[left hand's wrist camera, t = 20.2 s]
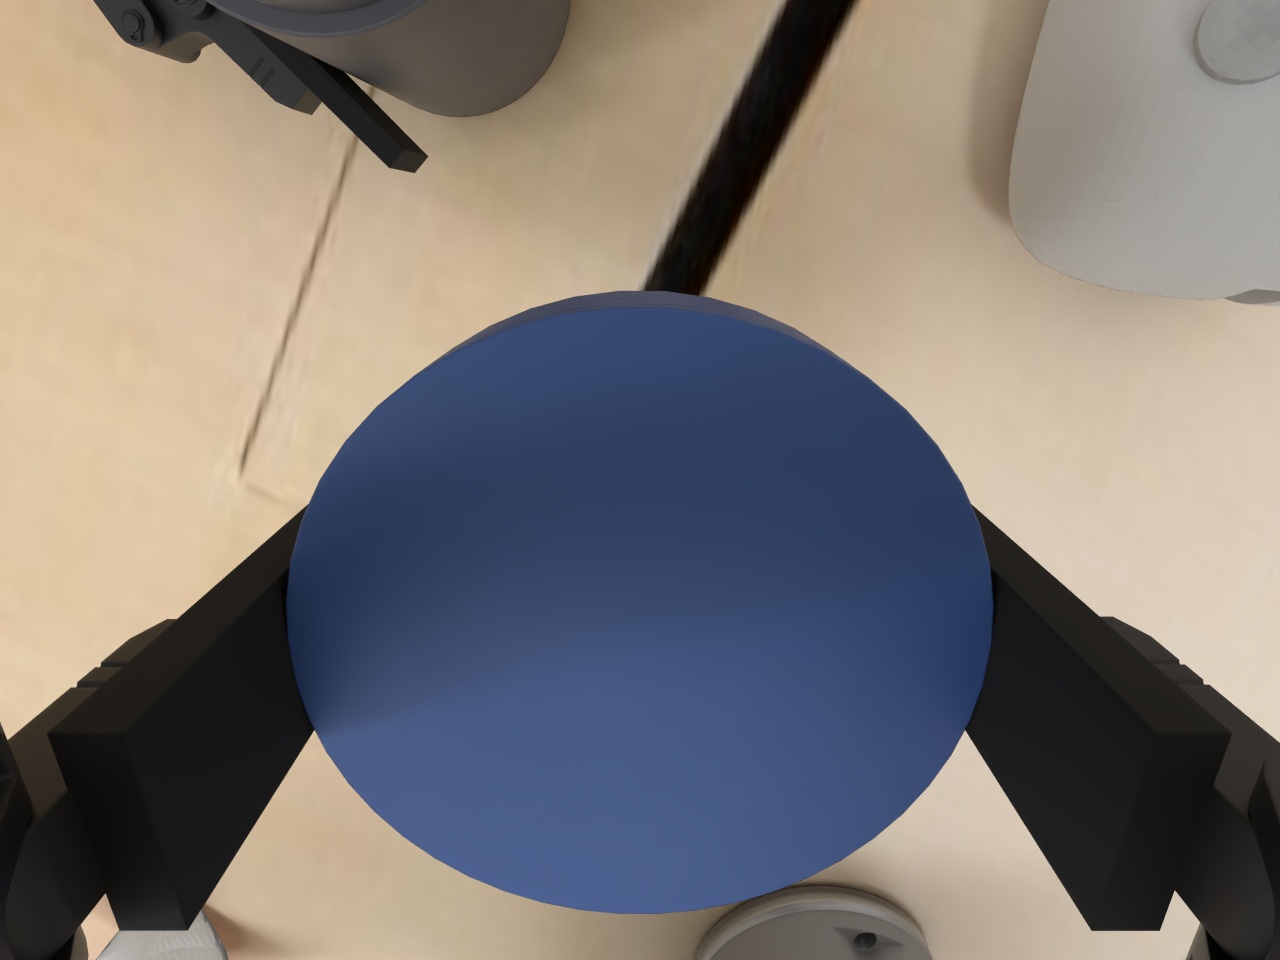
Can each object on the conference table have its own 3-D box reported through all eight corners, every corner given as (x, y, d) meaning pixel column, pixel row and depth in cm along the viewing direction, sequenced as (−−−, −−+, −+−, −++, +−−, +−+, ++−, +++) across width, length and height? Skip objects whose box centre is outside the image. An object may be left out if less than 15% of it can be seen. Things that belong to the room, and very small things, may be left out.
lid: (1067, 522, 11) (1149, 581, 10) (705, 894, 14) (714, 994, 13) (539, 140, 9) (516, 121, 8) (244, 661, 12) (175, 740, 11)
